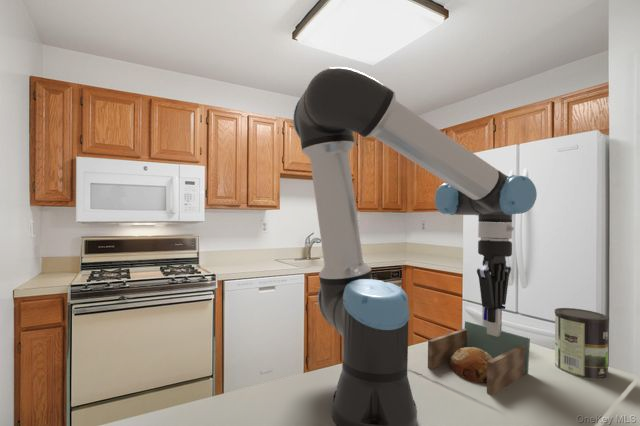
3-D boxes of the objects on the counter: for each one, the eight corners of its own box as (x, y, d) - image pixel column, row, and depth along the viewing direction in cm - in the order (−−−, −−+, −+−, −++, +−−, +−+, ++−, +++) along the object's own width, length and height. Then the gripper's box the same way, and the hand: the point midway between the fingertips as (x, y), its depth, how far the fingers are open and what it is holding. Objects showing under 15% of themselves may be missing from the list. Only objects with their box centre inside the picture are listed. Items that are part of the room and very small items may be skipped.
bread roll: (490, 386, 80) (485, 350, 83) (508, 386, 71) (502, 346, 74) (447, 383, 81) (444, 347, 84) (460, 383, 72) (455, 343, 75)
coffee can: (604, 370, 81) (605, 312, 82) (612, 387, 73) (612, 322, 73) (553, 359, 87) (554, 305, 87) (554, 374, 79) (555, 314, 79)
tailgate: (527, 374, 77) (528, 338, 77) (462, 351, 89) (464, 321, 90) (528, 374, 77) (529, 338, 78) (464, 351, 89) (466, 321, 90)
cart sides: (491, 398, 67) (492, 363, 67) (427, 370, 79) (428, 340, 79) (525, 377, 77) (525, 346, 77) (463, 355, 89) (463, 328, 89)
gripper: (497, 241, 77) (496, 344, 76) (522, 240, 84) (521, 334, 84) (466, 239, 83) (465, 335, 82) (492, 238, 90) (491, 326, 90)
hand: (493, 334), depth 83 cm, fingers closed
